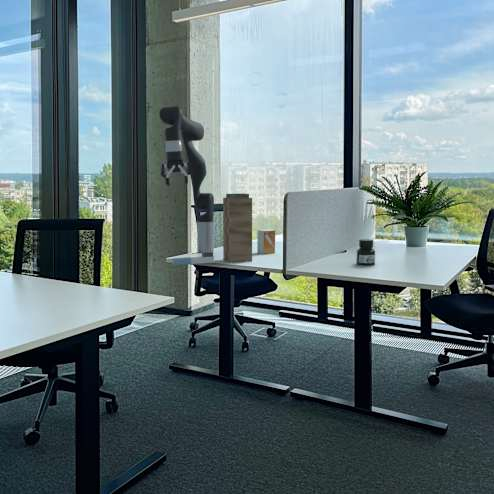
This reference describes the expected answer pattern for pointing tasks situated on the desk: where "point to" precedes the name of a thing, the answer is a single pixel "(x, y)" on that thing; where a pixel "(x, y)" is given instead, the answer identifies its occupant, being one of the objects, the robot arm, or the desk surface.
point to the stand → (237, 228)
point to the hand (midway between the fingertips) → (177, 185)
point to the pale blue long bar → (194, 259)
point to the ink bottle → (365, 252)
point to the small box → (266, 241)
